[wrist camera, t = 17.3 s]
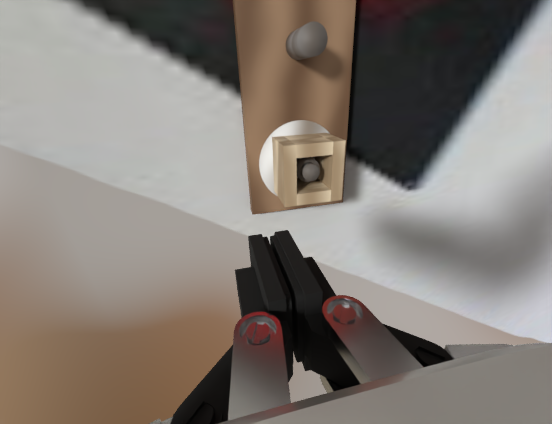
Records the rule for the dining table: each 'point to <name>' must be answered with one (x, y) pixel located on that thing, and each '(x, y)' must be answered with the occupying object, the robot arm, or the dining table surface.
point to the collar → (326, 154)
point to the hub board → (291, 82)
